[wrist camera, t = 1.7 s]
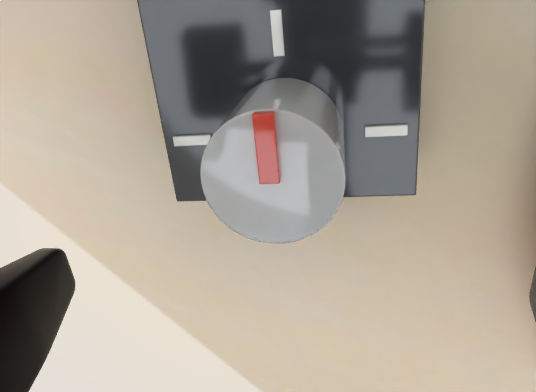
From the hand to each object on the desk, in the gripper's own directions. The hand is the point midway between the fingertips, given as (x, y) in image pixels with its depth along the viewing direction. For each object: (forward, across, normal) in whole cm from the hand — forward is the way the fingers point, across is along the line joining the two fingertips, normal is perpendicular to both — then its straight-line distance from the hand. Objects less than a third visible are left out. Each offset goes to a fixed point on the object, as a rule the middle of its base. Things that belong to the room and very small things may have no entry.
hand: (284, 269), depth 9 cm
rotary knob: (+8, +1, 0) cm, 8 cm away
